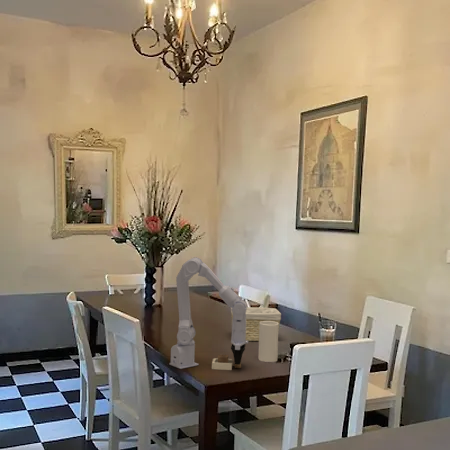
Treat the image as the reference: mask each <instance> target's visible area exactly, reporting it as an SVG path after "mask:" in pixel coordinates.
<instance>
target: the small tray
mask: <svg viewBox="0 0 450 450" xmlns="http://www.w3.org/2000/svg"><path fill="white" fill-rule="evenodd" d="M233 361H234V358H228V363H218V357H217V358H215V357H214V358H212V361H211V370H220V371H221V370H222V371H232V370H233V369H232V368H233V366H232V364H234V362H233Z"/></svg>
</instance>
